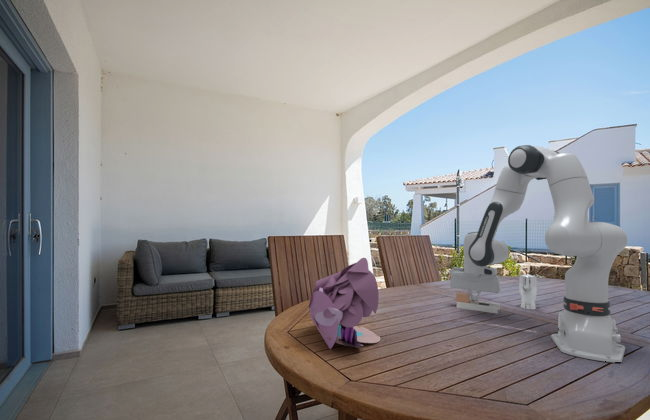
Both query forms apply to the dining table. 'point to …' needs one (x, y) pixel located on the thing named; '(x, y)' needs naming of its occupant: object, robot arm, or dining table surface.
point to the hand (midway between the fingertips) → (474, 300)
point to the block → (463, 297)
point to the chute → (480, 306)
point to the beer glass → (528, 291)
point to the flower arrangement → (345, 305)
